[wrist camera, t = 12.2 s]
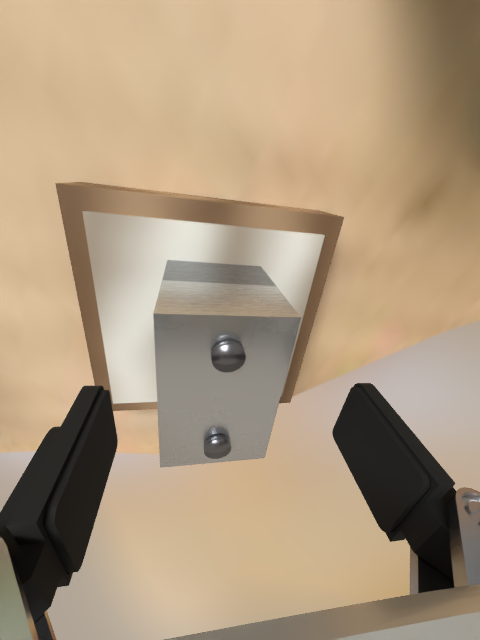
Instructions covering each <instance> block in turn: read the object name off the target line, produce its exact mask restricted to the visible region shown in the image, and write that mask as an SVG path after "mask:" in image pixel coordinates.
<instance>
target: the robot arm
mask: <svg viewBox="0 0 480 640" xmlns="http://www.w3.org/2000/svg"><path fill="white" fill-rule="evenodd" d="M333 437H334V440H335V442H336V444H337V445H338V448H339V450H340V451H341V453H342V455H343V457H344V459H345V461H346V463H347V465H348V467H349V469H350V471H351V473H352V475H353V476H354V479H355V481H356V483H357V485H358V486H359V488H360V490H361V492H362V494H363V496H364V498H365V500H366V502H367V504H368V506H369V508H370V510H371V512H372V514H373V516H374V518H375V520H376V522H377V524H378V525H379V527H380V528H381V530H382V531H384V532H385V533H386V534H387V536H388V538H389V540H390V542H391V541H398V540H404V539H405V538H406V540H407V541H408V543H409V545H410V595H406V596H401V597H395V598H389V599H384V600H378V601H372V602H367V603H361V604H355V605H350V606H344V607H339V608H333V609H328V610H322V611H317V612H311V613H305V614H300V615H295V616H289V617H284V618H278V619H273V620H267V621H262V622H257V623H251V624H245V625H241V626H235V627H230V628H224V629H219V630H213V631H208V632H203V633H197V634H192V635H187V636H182V637H176V638H171V639H165V640H480V492H478V491H476V490H474V489H471V488H460V489H458V490H457V491H456V490H455V489H454V488H453V486H454V484H455V482H454V481H453V480H452V479H451V478H450V476H449V475H448V474H447V473H446V472H445V470H444V469H443V468H442V467H441V466H440V464H439V463H438V462H437V461H436V460H435V458H434V457H433V456H432V455H431V454H430V453H429V451H428V450H427V449H426V448H425V446H424V445H423V444H422V443H421V442H420V440H419V439H418V438H417V437H416V436H415V434H414V433H413V432H412V431H411V430H410V428H409V427H408V426H407V425H406V424H405V422H404V421H403V420H402V419H401V418H400V416H399V415H398V414H397V413H396V412H395V410H394V409H393V408H392V407H391V406H390V404H389V403H388V402H387V401H386V400H385V398H384V397H383V396H382V395H381V394H380V392H379V391H378V390H377V389H376V388H375V386H373V384H371V383H357V384H355V385H354V387H352V388H351V389H350V392H349V394H348V397H347V399H346V401H345V403H344V405H343V408H342V410H341V412H340V415H339V417H338V419H337V421H336V424H335V426H334V428H333ZM116 449H117V434H116V428H115V422H114V416H113V410H112V404H111V398H110V392H109V390H104V387H103V386H84V387H83V388H82V389H81V391H80V393H79V394H78V396H77V398H76V400H75V402H74V403H73V405H72V407H71V409H70V411H69V413H68V414H67V416H66V418H65V420H64V422H63V424H62V425H61V427H53V428H52V429H50V430H49V432H48V433H47V434H46V436H45V438H44V439H43V441H42V443H41V444H40V446H39V448H38V449H37V451H36V453H35V455H34V456H33V458H32V460H31V461H30V463H29V465H28V466H27V468H26V470H25V472H24V473H23V475H22V477H21V478H20V480H19V482H18V483H17V485H16V487H15V489H14V490H13V492H12V494H11V495H10V497H9V499H8V500H7V502H6V504H5V506H4V507H3V509H2V511H1V512H0V640H56V637H55V634H54V631H53V628H52V625H51V622H50V619H49V616H48V613H47V609H48V608H49V607H50V606H51V604H52V601H53V598H54V595H55V592H56V589H57V587H61V586H68V585H69V583H70V580H71V577H72V573H73V572H78V571H79V569H80V567H81V565H82V562H83V559H84V556H85V552H86V549H87V546H88V542H89V539H90V536H91V532H92V529H93V526H94V522H95V519H96V516H97V512H98V509H99V506H100V502H101V499H102V496H103V492H104V489H105V486H106V482H107V479H108V476H109V472H110V469H111V466H112V462H113V459H114V456H115V452H116Z"/></svg>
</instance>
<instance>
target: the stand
mask: <svg viewBox="0 0 480 640" xmlns="http://www.w3.org/2000/svg"><path fill="white" fill-rule="evenodd" d="M56 189H57V194H58V199H59V204H60V209H61V214H62V219H63V224H64V229H65V234H66V240H67V245H68V250H69V255H70V260H71V265H72V270H73V275H74V280H75V285H76V291H77V296H78V301H79V306H80V311H81V316H82V321H83V326H84V331H85V336H86V342H87V347H88V352H89V357H90V362H91V367H92V372H93V377H94V382H95V386H103V387H104V390H109V392H110V398H111V404H112V410H113V411H120V410H141V409H158V405H157V384H156V362H155V340H154V319H153V313H154V309H155V305H156V301H157V298H158V294H159V290H160V286H161V283H162V279H163V275H164V271H165V267H166V264H167V260H177V261H192V262H206V263H221V264H236V265H250V266H261V267H262V268H263V270H264V271H265V272H266V273H267V275H268V276H269V277H270V279H271V280H272V281H273V282H274V284H275V285H276V286H277V287H278V289H279V290H280V291H281V292H282V294H283V295H284V296H285V298H286V299H287V300H288V301H289V303H290V304H291V305H292V306H293V308H294V309H295V310H296V311H297V313H298V314H299V315H300V317H301V320H300V324H299V328H298V332H297V336H296V339H295V343H294V347H293V351H292V355H291V358H290V362H289V366H288V370H287V374H286V377H285V381H284V385H283V389H282V393H281V396H280V400H279V403H287V402H288V403H289V402H290V401H291V398H292V394H293V391H294V387H295V384H296V381H297V377H298V374H299V370H300V367H301V363H302V360H303V357H304V353H305V350H306V346H307V343H308V339H309V336H310V332H311V329H312V326H313V322H314V319H315V315H316V312H317V308H318V305H319V302H320V298H321V295H322V291H323V288H324V284H325V281H326V278H327V274H328V271H329V267H330V264H331V260H332V257H333V253H334V250H335V247H336V243H337V240H338V236H339V233H340V229H341V226H342V223H343V219H344V217H341V216H337V215H333V214H330V213H326V212H322V211H317V210H308V209H300V208H292V207H283V206H275V205H267V204H258V203H250V202H242V201H234V200H225V199H217V198H209V197H200V196H192V195H184V194H175V193H167V192H159V191H150V190H142V189H134V188H126V187H117V186H109V185H101V184H92V183H84V182H74V183H56Z"/></svg>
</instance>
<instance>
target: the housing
mask: <svg viewBox="0 0 480 640" xmlns="http://www.w3.org/2000/svg"><path fill="white" fill-rule="evenodd" d="M153 319H154V340H155V362H156V384H157V405H158V427H159V449H160V467H171V466H181V465H193V464H204V463H214V462H225V461H236V460H246V459H258V458H264V457H265V454H266V450H267V446H268V442H269V438H270V435H271V431H272V427H273V423H274V419H275V416H276V412H277V408H278V404H279V400H280V396H281V393H282V389H283V385H284V381H285V377H286V374H287V370H288V366H289V362H290V358H291V355H292V351H293V347H294V343H295V339H296V336H297V332H298V328H299V324H300V320H301V317H300V315H299V314H298V313H297V311H296V310H295V309H294V308H293V306H292V305H291V304H290V303H289V301H288V300H287V299H286V298H285V296H284V295H283V294H282V292H281V291H280V290H279V289H278V287H277V286H276V285H275V284H274V282H273V281H272V280H271V279H270V277H269V276H268V275H267V273H266V272H265V271H264V270H263V268H262V267H261V266H250V265H236V264H221V263H206V262H192V261H177V260H167V264H166V267H165V271H164V275H163V279H162V283H161V286H160V290H159V294H158V298H157V301H156V305H155V309H154V313H153Z"/></svg>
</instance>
